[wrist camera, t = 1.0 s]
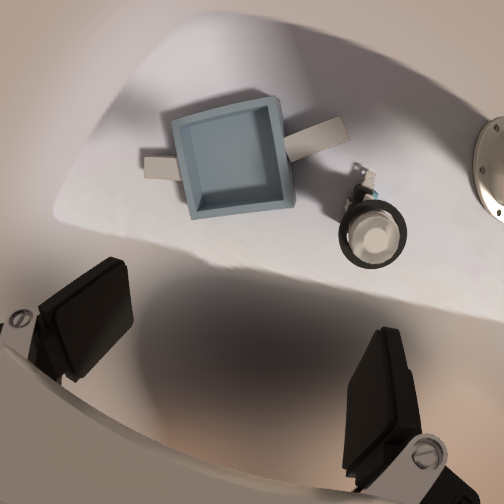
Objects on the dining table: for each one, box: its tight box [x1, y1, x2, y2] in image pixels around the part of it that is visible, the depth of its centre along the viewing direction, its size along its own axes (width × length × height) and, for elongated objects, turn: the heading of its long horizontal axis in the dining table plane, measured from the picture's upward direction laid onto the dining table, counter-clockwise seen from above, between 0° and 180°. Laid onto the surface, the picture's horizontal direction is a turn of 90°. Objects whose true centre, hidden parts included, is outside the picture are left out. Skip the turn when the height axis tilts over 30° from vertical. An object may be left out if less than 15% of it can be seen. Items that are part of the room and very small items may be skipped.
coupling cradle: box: [144, 96, 351, 220], centre depth 27 cm, size 22×11×3 cm, turn 100°
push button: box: [338, 171, 407, 269], centre depth 23 cm, size 7×5×10 cm
